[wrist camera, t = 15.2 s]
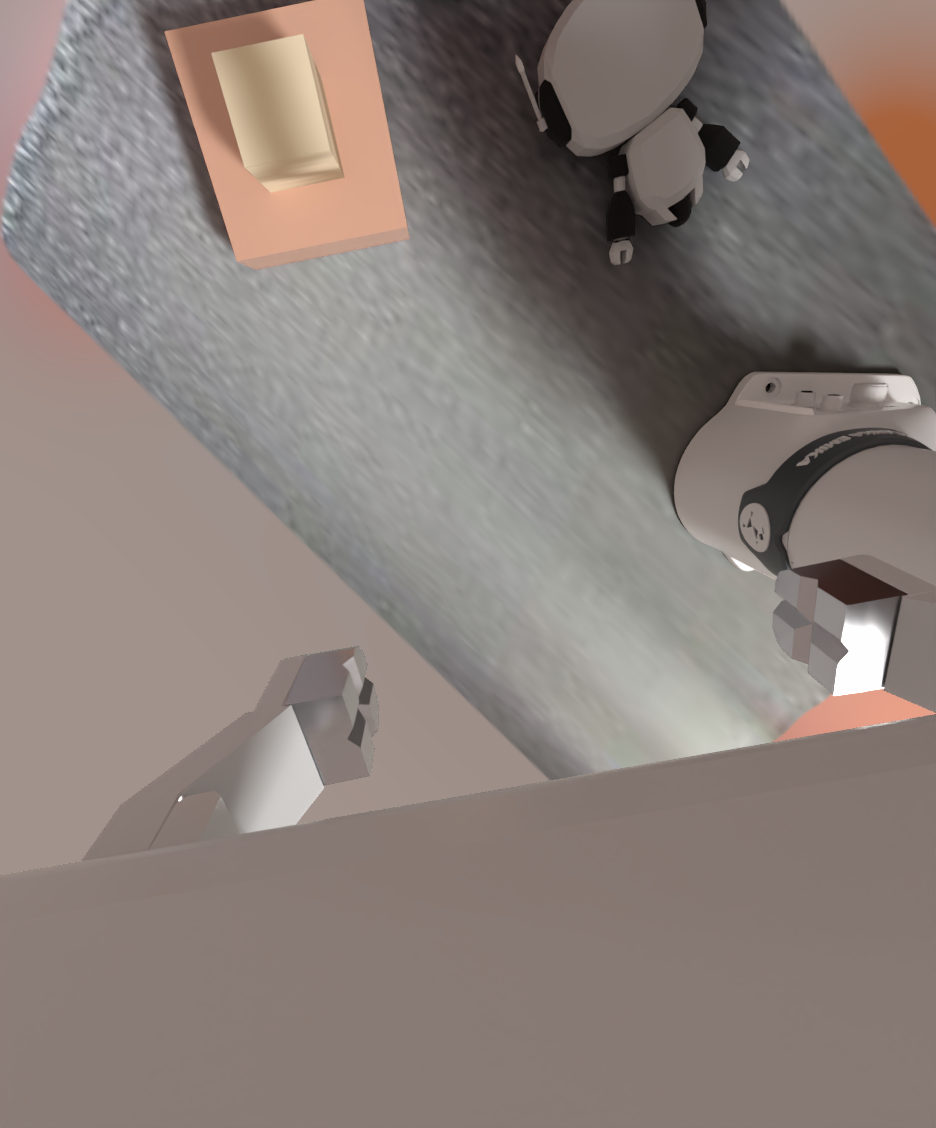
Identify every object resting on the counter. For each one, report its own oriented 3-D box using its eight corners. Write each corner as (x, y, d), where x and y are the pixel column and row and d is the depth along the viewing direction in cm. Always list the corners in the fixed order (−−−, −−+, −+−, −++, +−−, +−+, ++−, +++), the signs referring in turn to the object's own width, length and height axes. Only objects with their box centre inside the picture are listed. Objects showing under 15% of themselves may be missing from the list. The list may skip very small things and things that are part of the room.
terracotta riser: (369, 30, 33) (361, -10, 30) (410, 239, 38) (407, 227, 34) (193, 66, 33) (164, 31, 30) (255, 269, 38) (236, 261, 35)
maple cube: (322, 80, 31) (303, 33, 27) (344, 177, 33) (330, 149, 28) (244, 96, 31) (211, 53, 27) (270, 192, 33) (244, 167, 29)
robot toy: (735, 176, 39) (656, -64, 32) (774, 161, 35) (692, -117, 28) (598, 280, 41) (499, 74, 34) (619, 276, 37) (511, 43, 30)
